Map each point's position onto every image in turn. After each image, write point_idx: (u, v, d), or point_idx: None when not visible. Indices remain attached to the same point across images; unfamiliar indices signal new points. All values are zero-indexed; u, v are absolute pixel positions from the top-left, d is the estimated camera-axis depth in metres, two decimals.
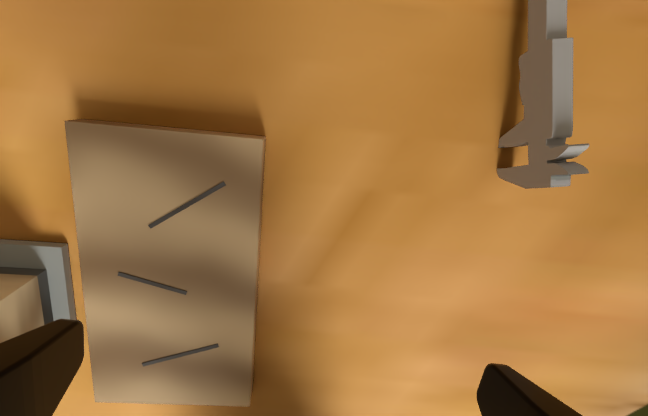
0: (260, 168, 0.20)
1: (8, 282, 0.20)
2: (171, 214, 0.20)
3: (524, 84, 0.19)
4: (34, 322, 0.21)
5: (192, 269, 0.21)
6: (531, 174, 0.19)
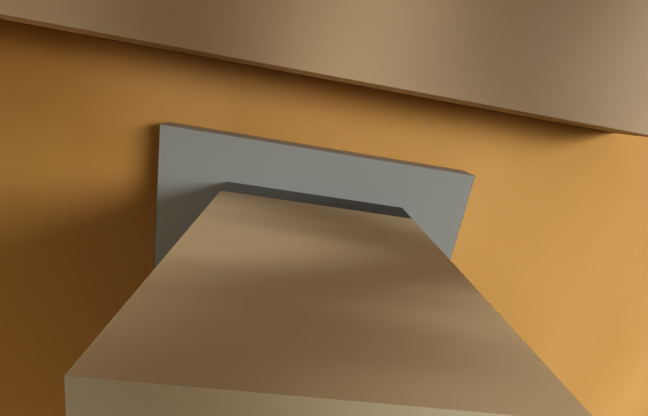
0: None
1: None
2: None
3: None
4: (354, 221, 0.07)
5: None
6: None
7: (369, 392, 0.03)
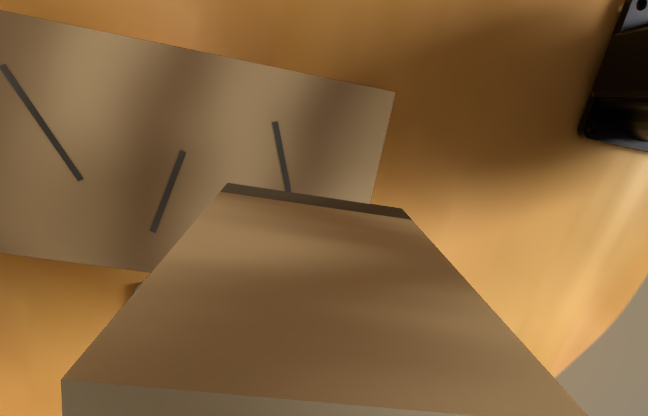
0: None
1: None
2: (60, 148, 0.15)
3: None
4: (353, 222, 0.07)
5: (145, 136, 0.15)
6: None
7: (367, 398, 0.03)
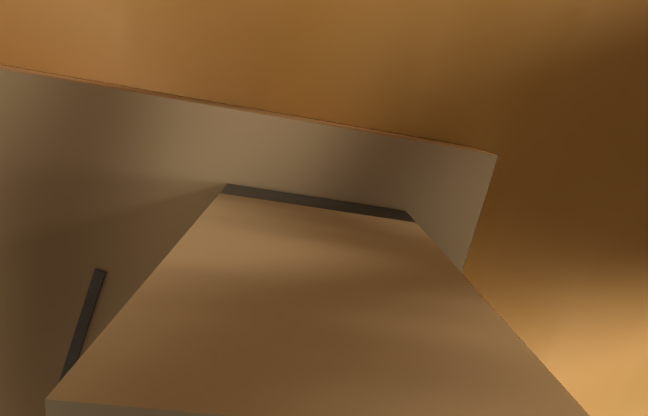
0: None
1: None
2: None
3: None
4: (357, 225, 0.07)
5: (26, 247, 0.08)
6: None
7: None
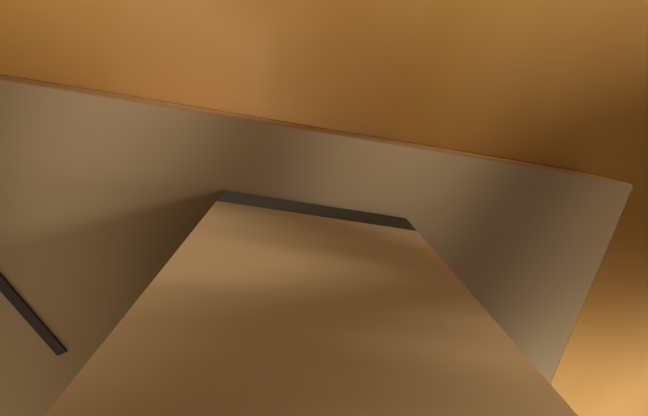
0: None
1: None
2: (22, 304, 0.08)
3: None
4: (356, 234, 0.06)
5: None
6: None
7: None
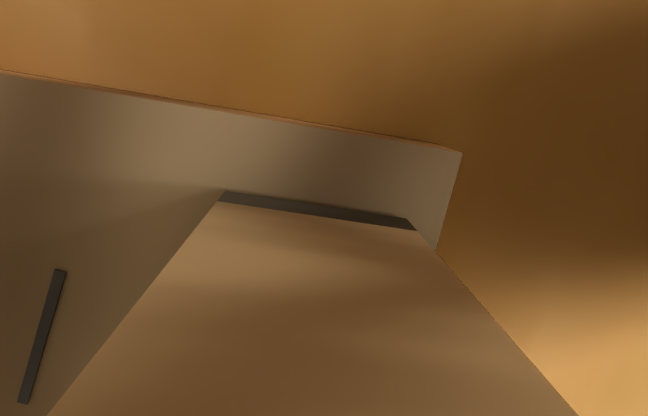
0: None
1: None
2: None
3: None
4: (357, 234, 0.06)
5: None
6: None
7: None
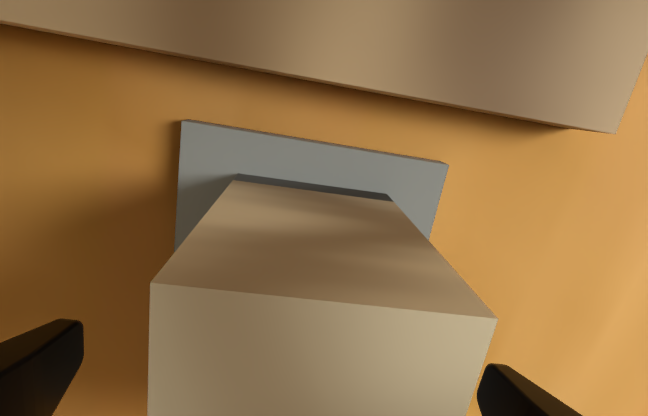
0: None
1: None
2: None
3: None
4: (344, 203, 0.08)
5: None
6: None
7: (344, 299, 0.04)
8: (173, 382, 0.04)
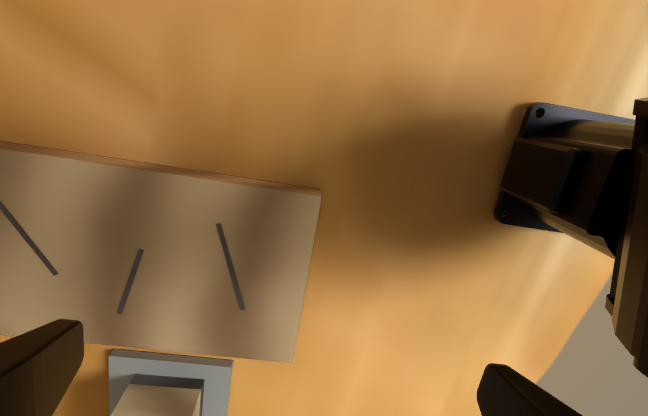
0: None
1: None
2: (37, 250, 0.18)
3: None
4: (172, 397, 0.20)
5: (108, 238, 0.18)
6: None
7: None
8: None
